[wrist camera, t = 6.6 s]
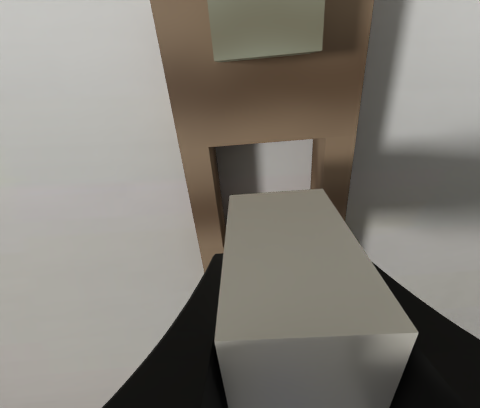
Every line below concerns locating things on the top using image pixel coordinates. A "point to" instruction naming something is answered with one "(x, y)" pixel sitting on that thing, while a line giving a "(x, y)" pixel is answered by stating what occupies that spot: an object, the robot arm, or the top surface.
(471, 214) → the top surface
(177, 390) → the robot arm
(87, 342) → the top surface
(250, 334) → the block
